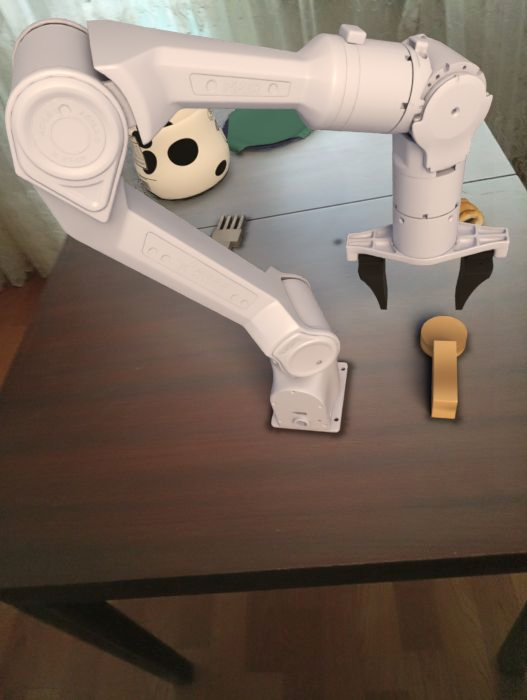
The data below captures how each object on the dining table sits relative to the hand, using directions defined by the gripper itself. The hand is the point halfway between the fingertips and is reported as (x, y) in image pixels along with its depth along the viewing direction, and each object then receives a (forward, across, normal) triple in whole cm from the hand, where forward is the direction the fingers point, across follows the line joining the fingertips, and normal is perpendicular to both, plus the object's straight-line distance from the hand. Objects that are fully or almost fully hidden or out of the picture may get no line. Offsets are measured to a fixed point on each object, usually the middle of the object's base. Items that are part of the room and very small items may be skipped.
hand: (420, 303), depth 54 cm
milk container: (+9, +42, -39) cm, 58 cm away
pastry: (+9, -4, -23) cm, 25 cm away
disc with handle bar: (+9, -3, +3) cm, 10 cm away
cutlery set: (+9, +23, -56) cm, 61 cm away
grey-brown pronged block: (+9, +30, -18) cm, 36 cm away
